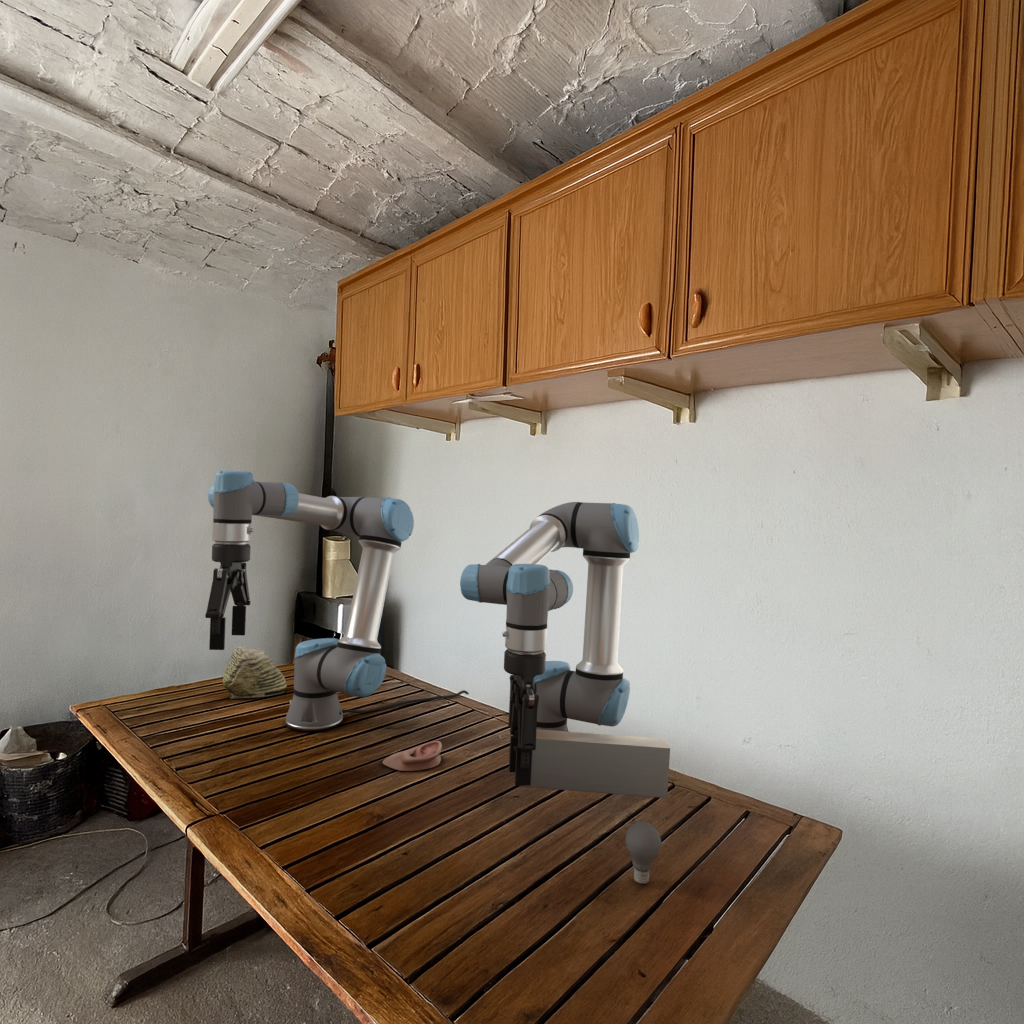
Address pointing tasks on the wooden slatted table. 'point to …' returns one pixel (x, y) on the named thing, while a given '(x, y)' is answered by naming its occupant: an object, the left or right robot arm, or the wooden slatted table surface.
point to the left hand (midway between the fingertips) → (228, 642)
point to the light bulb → (642, 848)
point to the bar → (600, 763)
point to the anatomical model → (416, 757)
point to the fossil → (252, 674)
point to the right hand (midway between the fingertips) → (519, 777)
